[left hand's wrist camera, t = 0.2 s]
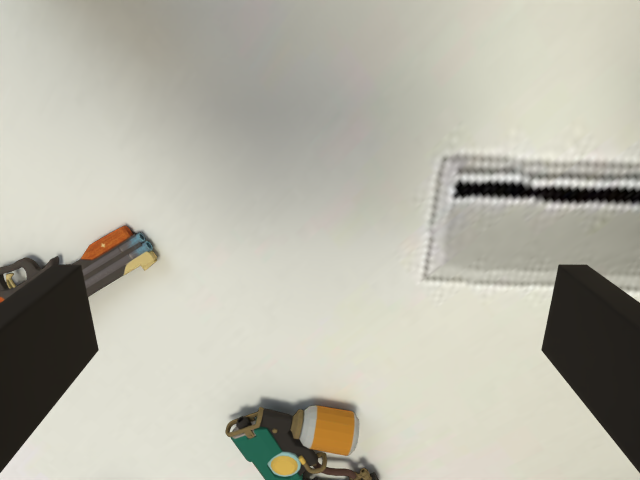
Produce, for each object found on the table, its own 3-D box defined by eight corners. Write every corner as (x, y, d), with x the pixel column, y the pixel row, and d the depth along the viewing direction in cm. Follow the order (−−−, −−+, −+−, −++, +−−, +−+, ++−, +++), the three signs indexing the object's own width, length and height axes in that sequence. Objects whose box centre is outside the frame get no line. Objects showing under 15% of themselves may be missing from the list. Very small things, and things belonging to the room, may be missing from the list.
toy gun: (-86, 277, 40) (-13, 366, 41) (86, 166, 38) (155, 265, 39) (-61, 269, 42) (7, 352, 44) (101, 164, 40) (165, 257, 42)
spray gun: (383, 493, 53) (259, 504, 54) (367, 384, 46) (225, 399, 47) (387, 529, 49) (253, 540, 50) (370, 416, 42) (216, 431, 44)
